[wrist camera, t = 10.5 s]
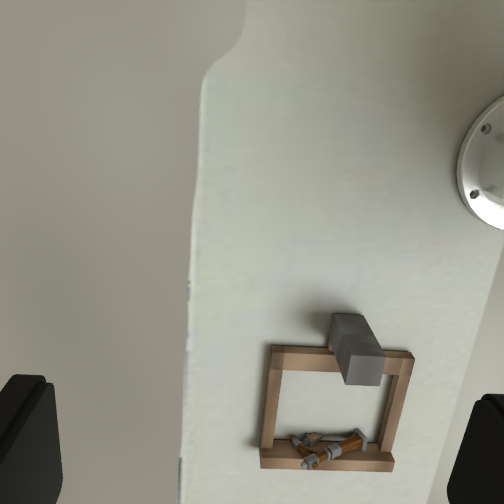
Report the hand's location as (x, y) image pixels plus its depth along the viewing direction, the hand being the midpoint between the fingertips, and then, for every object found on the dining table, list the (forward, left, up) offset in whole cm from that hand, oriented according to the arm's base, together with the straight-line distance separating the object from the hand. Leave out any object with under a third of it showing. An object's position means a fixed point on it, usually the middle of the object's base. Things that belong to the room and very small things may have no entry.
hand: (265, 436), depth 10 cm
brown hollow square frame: (+3, +25, -30) cm, 39 cm away
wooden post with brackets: (+7, +31, -31) cm, 44 cm away
